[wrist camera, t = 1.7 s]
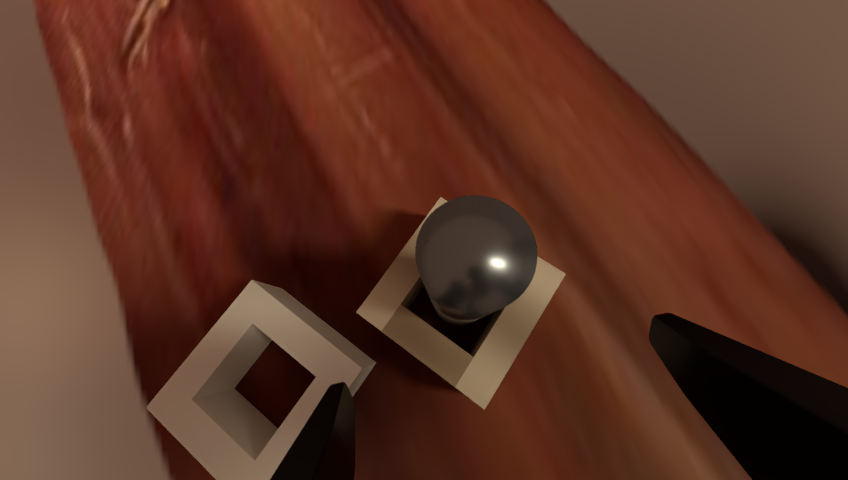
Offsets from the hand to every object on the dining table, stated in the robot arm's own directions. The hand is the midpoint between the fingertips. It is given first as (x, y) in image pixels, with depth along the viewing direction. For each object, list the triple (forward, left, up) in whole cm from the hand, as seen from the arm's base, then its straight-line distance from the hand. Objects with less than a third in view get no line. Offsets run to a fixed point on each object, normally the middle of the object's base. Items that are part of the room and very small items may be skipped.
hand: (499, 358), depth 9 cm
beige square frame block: (+2, +2, -11) cm, 11 cm away
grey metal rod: (+2, +2, -11) cm, 11 cm away
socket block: (-8, +8, -11) cm, 16 cm away
